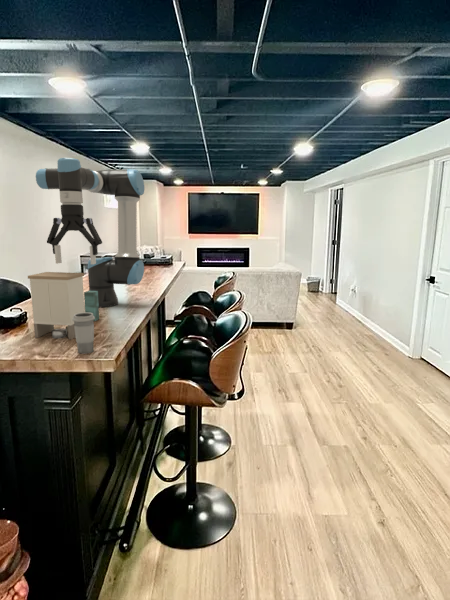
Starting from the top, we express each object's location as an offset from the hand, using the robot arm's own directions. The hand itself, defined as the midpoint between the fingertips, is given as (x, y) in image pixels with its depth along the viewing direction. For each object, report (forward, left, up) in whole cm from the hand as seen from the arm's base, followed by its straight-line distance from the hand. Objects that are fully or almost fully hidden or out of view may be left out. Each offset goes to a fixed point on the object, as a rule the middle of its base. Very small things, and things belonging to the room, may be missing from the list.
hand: (76, 263), depth 143 cm
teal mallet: (-7, -3, -25) cm, 26 cm away
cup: (+23, +14, -25) cm, 37 cm away
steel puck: (+10, -3, -25) cm, 27 cm away
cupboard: (+7, -4, -25) cm, 26 cm away
